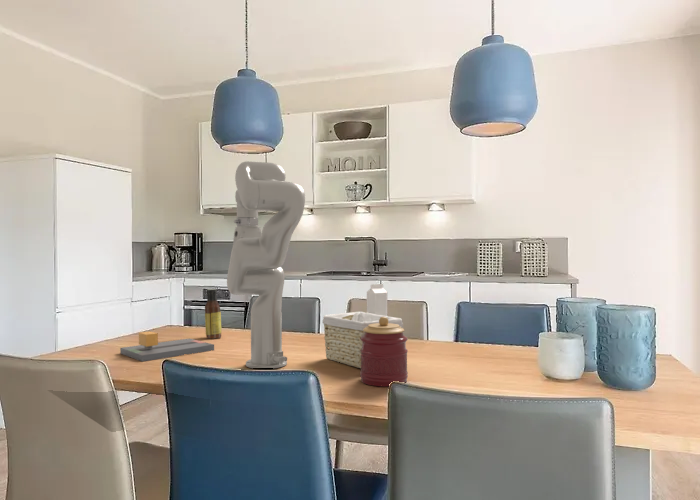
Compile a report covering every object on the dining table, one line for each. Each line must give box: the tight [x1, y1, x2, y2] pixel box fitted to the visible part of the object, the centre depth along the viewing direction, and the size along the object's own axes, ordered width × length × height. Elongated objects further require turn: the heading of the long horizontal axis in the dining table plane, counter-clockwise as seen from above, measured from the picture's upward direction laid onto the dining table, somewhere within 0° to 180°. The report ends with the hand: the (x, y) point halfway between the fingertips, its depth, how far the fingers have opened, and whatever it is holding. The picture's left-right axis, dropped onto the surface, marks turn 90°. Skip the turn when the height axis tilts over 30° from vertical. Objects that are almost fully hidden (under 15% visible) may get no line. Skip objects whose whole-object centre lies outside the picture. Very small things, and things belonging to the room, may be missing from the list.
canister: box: [359, 317, 409, 388], centre depth 142 cm, size 13×13×18 cm
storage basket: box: [322, 311, 404, 369], centre depth 167 cm, size 24×16×15 cm
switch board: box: [119, 338, 215, 363], centre depth 183 cm, size 18×26×2 cm
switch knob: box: [138, 330, 159, 349], centre depth 178 cm, size 6×4×5 cm, turn 45°
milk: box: [366, 283, 388, 316], centre depth 206 cm, size 6×6×22 cm
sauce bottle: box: [204, 288, 222, 340], centre depth 211 cm, size 6×6×20 cm
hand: (247, 274), depth 186 cm, fingers closed
